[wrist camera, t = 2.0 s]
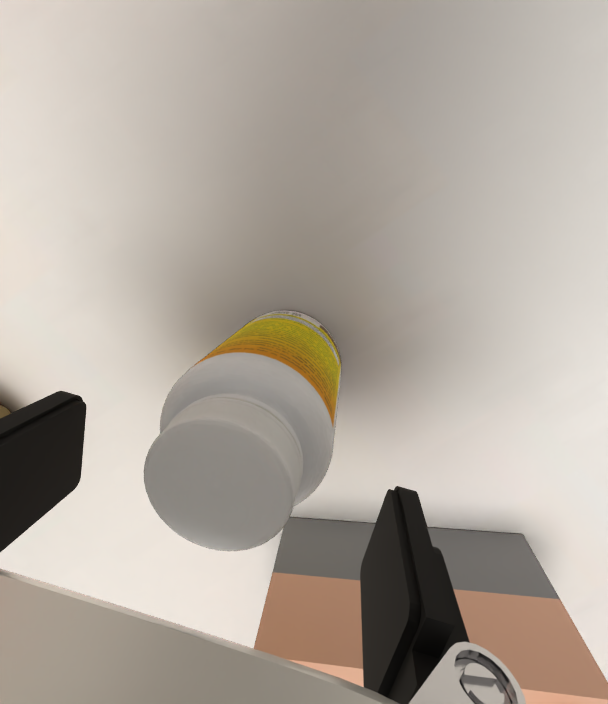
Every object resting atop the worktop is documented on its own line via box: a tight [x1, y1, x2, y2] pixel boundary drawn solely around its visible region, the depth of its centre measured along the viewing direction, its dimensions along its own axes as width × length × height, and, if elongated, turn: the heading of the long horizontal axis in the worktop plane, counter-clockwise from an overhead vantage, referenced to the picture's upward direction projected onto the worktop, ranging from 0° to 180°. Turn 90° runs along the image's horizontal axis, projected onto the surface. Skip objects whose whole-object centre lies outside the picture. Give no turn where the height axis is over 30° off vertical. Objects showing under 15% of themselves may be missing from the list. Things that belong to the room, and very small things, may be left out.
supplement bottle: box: [144, 310, 341, 551], centre depth 14 cm, size 6×6×10 cm
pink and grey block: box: [254, 517, 608, 704], centre depth 19 cm, size 13×13×8 cm
